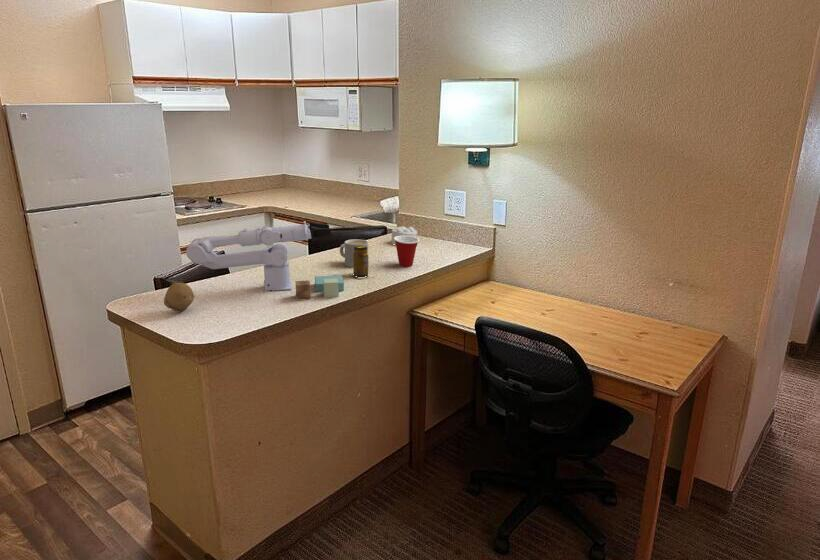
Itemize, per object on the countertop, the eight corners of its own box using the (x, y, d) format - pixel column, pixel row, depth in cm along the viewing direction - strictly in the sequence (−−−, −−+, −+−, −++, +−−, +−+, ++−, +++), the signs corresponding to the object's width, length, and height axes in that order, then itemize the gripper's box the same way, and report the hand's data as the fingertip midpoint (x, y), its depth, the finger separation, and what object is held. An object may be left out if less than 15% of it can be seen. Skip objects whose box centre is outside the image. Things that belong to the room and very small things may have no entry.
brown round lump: (201, 311, 191) (198, 283, 188) (175, 318, 185) (172, 289, 182) (187, 305, 197) (184, 277, 194) (162, 311, 190) (158, 283, 187)
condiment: (365, 271, 238) (365, 243, 234) (374, 277, 231) (374, 248, 227) (349, 274, 234) (348, 245, 231) (357, 279, 227) (357, 250, 224)
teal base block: (316, 293, 212) (316, 284, 211) (315, 285, 221) (314, 276, 220) (343, 291, 214) (343, 282, 213) (341, 283, 223) (341, 275, 222)
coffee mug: (372, 264, 248) (372, 242, 246) (356, 269, 241) (355, 246, 238) (351, 258, 257) (351, 236, 254) (334, 263, 250) (334, 240, 247)
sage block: (324, 297, 206) (324, 283, 205) (323, 293, 211) (323, 278, 209) (338, 296, 207) (338, 282, 206) (337, 292, 212) (337, 278, 210)
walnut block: (296, 300, 203) (295, 285, 202) (296, 295, 208) (295, 281, 206) (310, 299, 204) (310, 284, 203) (310, 294, 209) (309, 280, 208)
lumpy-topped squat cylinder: (404, 241, 291) (404, 224, 289) (422, 245, 282) (422, 228, 279) (388, 244, 284) (388, 227, 282) (406, 249, 275) (406, 231, 273)
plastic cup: (408, 270, 241) (409, 242, 237) (388, 265, 247) (388, 238, 243) (423, 264, 249) (424, 237, 246) (404, 260, 255) (404, 234, 252)
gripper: (291, 226, 204) (330, 222, 206) (291, 219, 217) (327, 215, 220) (294, 245, 206) (332, 241, 208) (293, 237, 219) (329, 233, 222)
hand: (330, 229), depth 214 cm, fingers open, 7 cm apart
